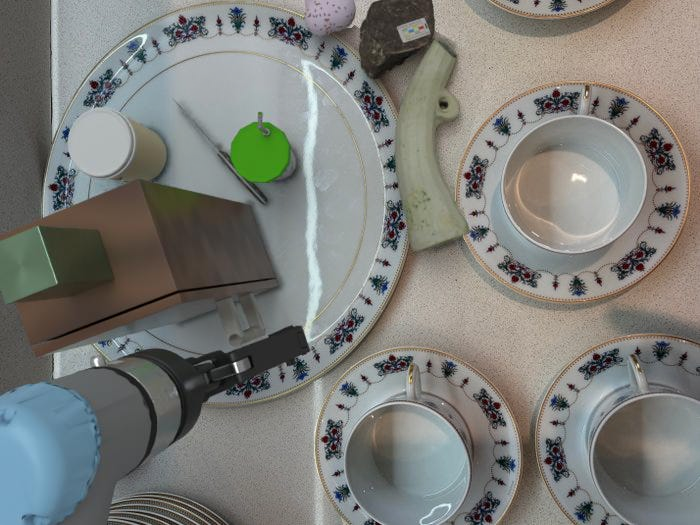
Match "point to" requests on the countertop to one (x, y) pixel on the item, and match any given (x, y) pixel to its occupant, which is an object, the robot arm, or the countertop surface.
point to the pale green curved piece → (427, 153)
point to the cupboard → (151, 253)
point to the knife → (230, 164)
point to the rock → (394, 33)
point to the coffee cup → (115, 147)
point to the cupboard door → (176, 317)
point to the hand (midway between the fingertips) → (233, 358)
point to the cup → (262, 153)
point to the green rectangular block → (51, 264)
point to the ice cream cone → (328, 15)
